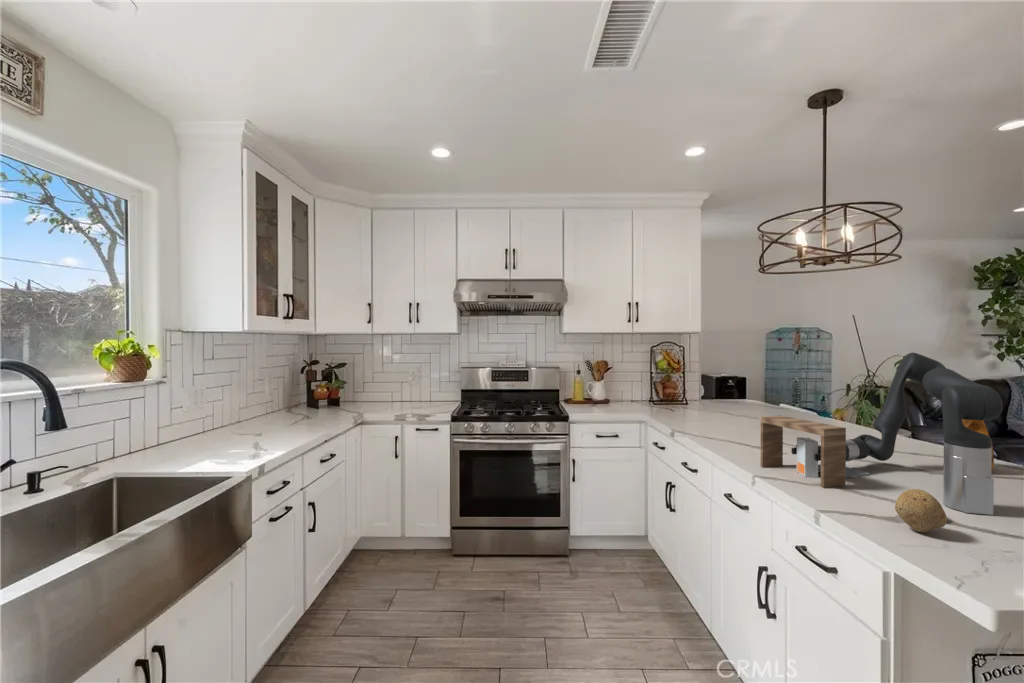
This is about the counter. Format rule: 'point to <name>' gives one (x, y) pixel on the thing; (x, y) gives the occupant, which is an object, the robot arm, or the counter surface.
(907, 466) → the counter surface
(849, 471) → the slate mat
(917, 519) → the brown potato
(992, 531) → the counter surface
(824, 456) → the walnut shelf
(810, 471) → the skincare box
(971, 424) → the coffee package
